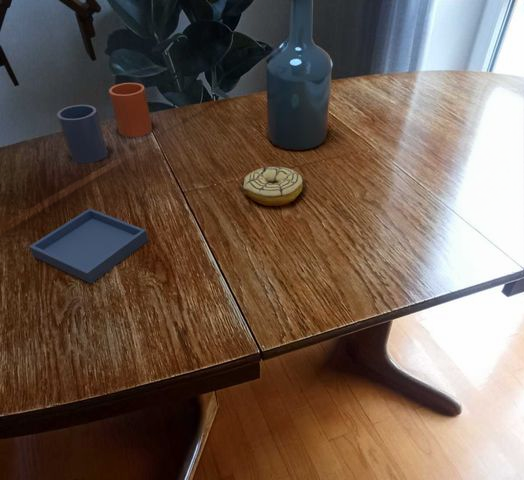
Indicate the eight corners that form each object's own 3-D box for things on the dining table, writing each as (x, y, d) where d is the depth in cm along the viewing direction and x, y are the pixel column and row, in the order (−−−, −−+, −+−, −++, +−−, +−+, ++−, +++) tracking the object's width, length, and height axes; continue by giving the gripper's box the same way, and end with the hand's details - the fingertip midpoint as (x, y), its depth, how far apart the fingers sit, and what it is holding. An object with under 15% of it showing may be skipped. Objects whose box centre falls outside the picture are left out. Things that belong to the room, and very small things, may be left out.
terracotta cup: (113, 139, 105) (101, 91, 97) (136, 127, 109) (126, 80, 101) (138, 146, 102) (127, 98, 94) (160, 134, 106) (151, 86, 99)
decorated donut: (262, 176, 92) (261, 157, 89) (310, 188, 88) (312, 169, 86) (234, 200, 86) (233, 181, 83) (285, 215, 82) (286, 195, 80)
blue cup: (66, 164, 97) (48, 114, 89) (92, 150, 101) (77, 102, 93) (91, 173, 94) (75, 122, 87) (117, 158, 98) (104, 109, 91)
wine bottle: (335, 132, 105) (352, -39, 82) (312, 157, 97) (324, -25, 75) (281, 122, 109) (283, -43, 87) (255, 145, 101) (249, -30, 79)
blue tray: (33, 257, 76) (28, 246, 74) (93, 218, 83) (89, 208, 81) (90, 284, 71) (86, 273, 69) (148, 240, 78) (146, 229, 76)
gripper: (-97, -42, 55) (-12, 107, 75) (101, -90, 61) (130, 59, 81) (-116, -79, 57) (-29, 75, 77) (77, -123, 63) (112, 31, 83)
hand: (53, 67), depth 79 cm, fingers open, 13 cm apart
